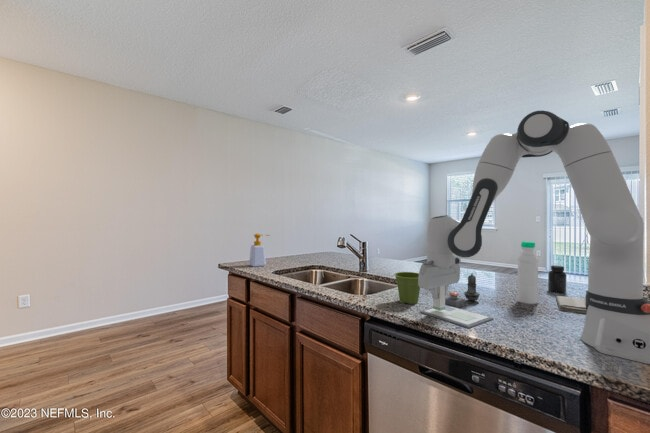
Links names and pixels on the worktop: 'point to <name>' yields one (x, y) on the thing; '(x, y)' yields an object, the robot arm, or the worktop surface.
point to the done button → (453, 295)
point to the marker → (440, 299)
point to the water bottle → (527, 274)
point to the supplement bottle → (557, 279)
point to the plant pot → (408, 287)
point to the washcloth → (571, 304)
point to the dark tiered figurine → (471, 291)
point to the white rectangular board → (458, 316)
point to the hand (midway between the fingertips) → (439, 297)
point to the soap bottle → (257, 253)
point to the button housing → (455, 302)
